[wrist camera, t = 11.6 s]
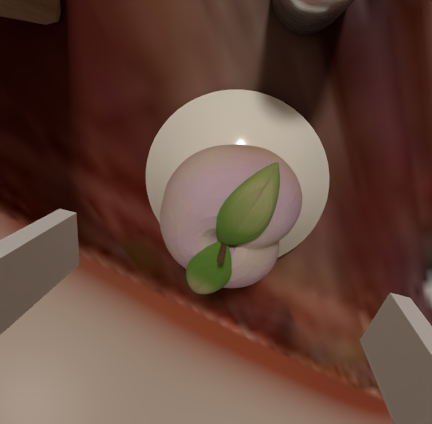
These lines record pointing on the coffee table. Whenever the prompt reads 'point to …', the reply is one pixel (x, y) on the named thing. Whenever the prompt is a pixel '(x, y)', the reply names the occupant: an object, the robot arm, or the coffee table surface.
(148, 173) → the cream plate
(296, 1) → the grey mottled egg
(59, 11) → the block
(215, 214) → the decorative fruit
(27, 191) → the coffee table surface
